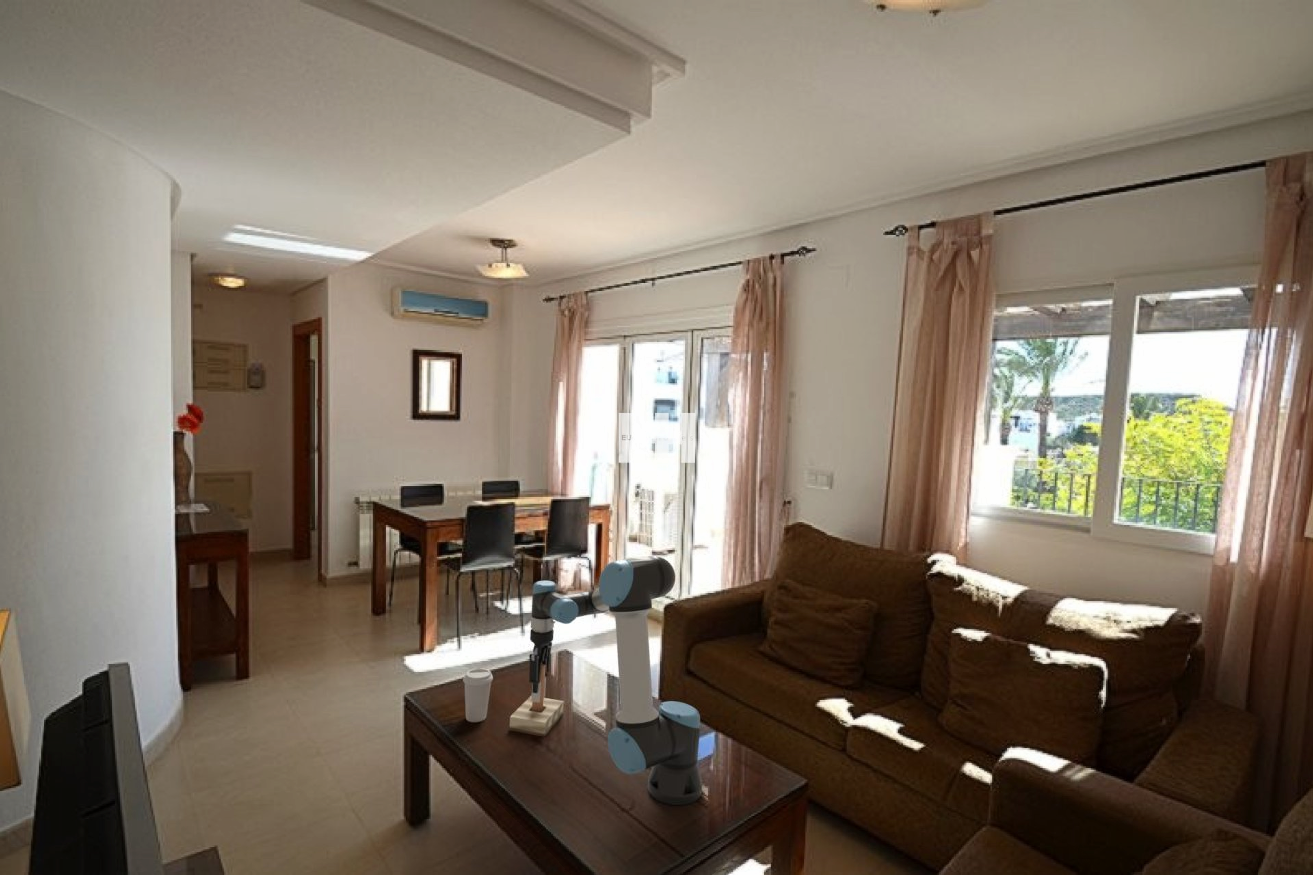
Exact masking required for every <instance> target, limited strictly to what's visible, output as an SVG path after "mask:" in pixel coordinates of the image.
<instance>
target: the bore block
mask: <svg viewBox="0 0 1313 875" xmlns="http://www.w3.org/2000/svg"><path fill="white" fill-rule="evenodd" d="M531 697H532V695H530V696H529V697H528V698H527V699H526V700H525V701H524V702H523V703H522V704H521V705H520V706H519V707H518V708H517V709H516V710H515V711H514V712H513V713H512V714H511V715H510V716H509V731H511V732H516V733H522V734H528V735H532V736H537V737H543V738H544V737H546V736H547V734H549V732H550V730H551V729H553V727H554V726H555V725H556V723H557V722H558V721H559V720H560V719H561V718H562V716H563V715H564V703H565V701H564V700H561V699H560V700H559V699H552V698H547V697H544V700H543V711H542V712H540V713H539V712H534V711H532V701H531Z"/></svg>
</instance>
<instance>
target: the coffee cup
mask: <svg viewBox="0 0 1313 875" xmlns="http://www.w3.org/2000/svg"><path fill="white" fill-rule="evenodd" d="M463 676H464V677H463V678H462V682H463V683H464V702H465V719H466V720H467V721H468V722H470V723H479V722H480V723H481V722H482V721H484V720H486V718H487V714H488V709H489V708H488V707H489V701H490V700H489V699H490V692H491V685H492V681H493V680H494V677H493V674H492V671H491V670H489V669H488V668H483V667H477V668H476V667H475V668H471V669H469V670H467V671H466V673H465V675H463Z"/></svg>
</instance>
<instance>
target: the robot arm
mask: <svg viewBox="0 0 1313 875" xmlns="http://www.w3.org/2000/svg"><path fill="white" fill-rule="evenodd" d="M675 582H676V572H675V569H674V567H673V566H672V564H671V563H670V561H668V560H667V559H665V558H664V557H661V556H658V555H657V556H655V555H653V556H652V555H651V556H643V557H642V556H641V557H634V558H625V559H623V558H622V559H618V560H615V561H614V560H613V561H611V562H609V563H608V564H607V565H605V566H604V568H603V570H602V571H601V573H600V576H599V581H598V587H597V588H594V589H592V590H587V591H584V592H575V593H569V594H560V593H558V592H557V584H556V583H555V582H554V581H552V580H538V581H536V582H535V583H534V584H533V586H532V588H533V589H532V594H531V595H532V596H531V598H532V599H531V615H530V616H531V617H530V618H531V619H530V633H529V634H530V635H529V640H530V642H532V643H533V650H532V653H530V654H529V655H528V658H529V675H528V676H529V677H528V678H529V679H528V680H529V681H528V682H529V683H530V684H531V685H532V686H531V696H532V697H531V701H533V702H538V703H539V702H540V691H541V682H540V675H541V667H542V664H545V683H544V698H546V689H547V688H546V684H547V677H549V676H550V669H551V668H550V667H551V657H552V656H551V655H552V653H551V652H552V648H553V647H552V646H553V641H554V632H555V630H554V628H555V626H554V625H555V623H556V622H558V623H561V624H565V625H568V624H571V623H573V621H575V620H576V619H577V618H581V617H585V616H591V615H592V616H593V615H597V614H600V615H601V614H603V613H606V612H608V611H609V614H611V615H612V616H613V617H614V619H615V634H616V637H615V638H616V649H617V650H616V651H617V667H618V682H619V683H618V684H619V686H618V687H619V702H620V710H619V711H618V712H617V714H616V715H615V727H613V728H612V729H611V730H610V731H609V733H608V735H607V747H608V751H609V755H610V757H611V759H612V761H613V762H614V764H615V766H616V767H617V768H618V769H619V770H620V771H621V772H622V773H624V774H628V775H633V774H636V773H641V772H644V771H645V770H647V769H650V768H651V770H650V772H649V775H648V778H647V790H648V793H649V794H650V795H651V796H652V797H653V798H654V799H655V800H657V801H659V802H660V803H663V804H667V805H672V806H685V805H689V804H690V805H691V804H692V803H694V802H696V801H698V800H699V799H700V797H701V796H702V793H703V781H702V780H703V779H702V776H701V772H700V768H699V765H698V764H699V763H698V759H699V758H698V757H699V744H700V732H701V715H700V713H699V711H698V710H697V708H695V707H694V706H692V705H690V704H687V703H685V702H681V701H674V700H673V701H672V700H670V701H669V700H667V701H663V702H661V703H660V704H659V707H658V709H656V708H655V707H654V703H653V701H654V700H653V688H652V684H653V683H652V674H651V673H652V671H651V670H652V669H651V659H650V658H651V657H650V656H651V655H650V643H649V642H650V641H649V640H650V639H649V626H648V614H649V613H650V611H651V610H652V609H653V605H652V604H653V603H652V602H653V601H652V600H654V599H655V600H656V599H658V598H662V597H665V596H666V595H667V594H669V593H670V592H671V591H672V590H673V588H674V586H675V584H676V583H675Z"/></svg>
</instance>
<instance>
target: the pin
mask: <svg viewBox="0 0 1313 875" xmlns="http://www.w3.org/2000/svg"><path fill="white" fill-rule="evenodd" d="M540 682H541V691H540V702H539V703H538V702H533V701H532V711H534V712H539V713H540V712H542V711H543V700H544V698H545V697H544V683H545V664H542V667H541V675H540Z"/></svg>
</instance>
